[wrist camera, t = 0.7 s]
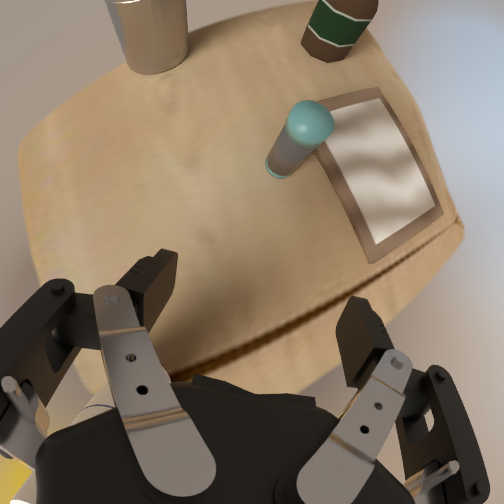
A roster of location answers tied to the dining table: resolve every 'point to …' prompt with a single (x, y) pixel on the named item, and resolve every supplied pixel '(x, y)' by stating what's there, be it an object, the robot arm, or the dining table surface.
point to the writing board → (376, 173)
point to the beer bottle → (337, 27)
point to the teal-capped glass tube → (299, 137)
